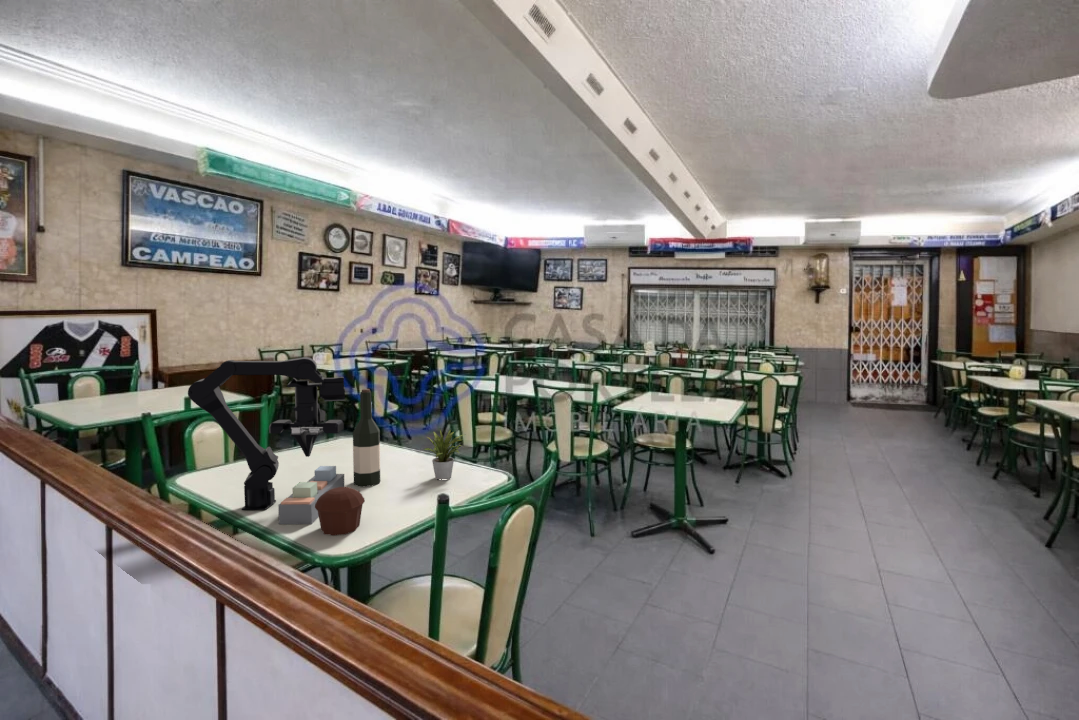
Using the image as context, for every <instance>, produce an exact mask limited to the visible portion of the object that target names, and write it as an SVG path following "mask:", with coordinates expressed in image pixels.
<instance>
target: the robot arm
mask: <svg viewBox="0 0 1079 720" xmlns="http://www.w3.org/2000/svg"><path fill="white" fill-rule="evenodd" d="M317 368H318V366H317V362H316V361H315V360H314V359H313V358H311V357H309V356H308V357H307V356H304V357H297V358H291V359H286V360H234V359H228V360H226V361H224V362H222V363H221V364H220V366H218V367H217V368H216V369H215V370H214V371H212V372H211V373H210V374H208V375H207V376H206V377H205V378H201V379H199V380H197V381H194V382H193V383H192V384H191V385H189V387H188V390H187V395H188V398H189V399H190V400H191V401H192V402H193V403H194V404H196V405H197V406H198V407H199V408H200V409H202V410H203V411H205V412H206V413H208V414H209V415H211V416H212V417H213V419H214V420H215V421H216V422H217V424H218V425H219V426H220V428H222V430H223V431H224V433H225V434H226V435H227V436H228V437H229V439H230V440H231V441H232V442H233V443H234V444H235V446H236V447H237V448H238V449H239V450H240V452H241V453H242V455H243V456H244V457H245V460H246V463H247V466H248V468H249V471H250V472H249V473H248V475H247V476H246V478H245V480H244V482H243V489H244V490H243V491H244V493H243V494H244V506H242V507H241V510H242V511H259V510H260V511H263V510H264V511H265V510H267V509H268V508H270V507H271V506H273V504H275V503H277V500H276V499H275V498H276V496H275V495H276V493H275V490H276V489H275V488H274V487H273V486H274V485H273V482H272V481H271V480H273V478H274V477H276V475H277V472H278V470H279V466H280V463H279V460H278V459H279V456H278V455H276V453H274V451H273V450H272V448H271V446H268V447H266V448H264V447H262V446H261V445H260V444H258V443H257V441H256V440H255V438H254V437H253V436H252V435H251V434H250V433H249V431H248V430H247V428H245V426H244V425H243V423H242V421H240V420H239V419H238V417H237V416H236V415H235V413H233V411H232V409H230V407H229V406H228V405H227V402H226V399H225V397H224V394H223V392H222V390H221V388H220V387H221V386H223V385H224V383H226V382H227V381H228V380H229V379H230V378H231V377H233V376H283V377H288V378H292V380H290V381H289V383H288V384H286V387H287V388H294V399H295V403H294V404H295V405H294V407H293V412H295V421H293V422H292V420H291V419H278V420H275V421H273V422H271V423H270V424H269V427H268V430H269V432H268V433H269V434H281V433H282V432H283V431H286V430H287V431H288V430H291V433H290V437H293V438H294V439H295V440H296V442H297V443H298V445H299V447H300V448H301V450H302V452H303V454H304V455H305V457H308V458H309V457H310V456H311V454H312V451H313V448H314V445H315V442H316V441H317V438H318V436H320V435H321V434H323V433H325V434H338V433H340V432H341V431H343V430H344V428H345V427H344V426H345V425H344V422H343V420H342V419H328V420H327V421H325V419H326V410H323V409H321V407H320V403H318V387H319V398H320V399H322V400H323V401H324V402H333V401H334V402H335V401H336V402H339V401H345V400H346V389H345V388H346V387H345V378H344V376H338V377H325V376H324V375H323V374H322V373H321V372H320V371H319V370H318V369H317ZM298 379H299V380H298ZM309 381H311V382H309Z"/></svg>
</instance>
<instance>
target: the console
mask: <svg viewBox="0 0 1079 720" xmlns="http://www.w3.org/2000/svg"><path fill="white" fill-rule="evenodd" d="M310 481H315V475H314V476H312V477H311V478H310V479H308V480H307V481H306V482H310ZM338 487H346V486H345V473H336V477H335V478H334V479H333V480H332V481H327V486H325V487H324V488H323V489H322V490H317V495H316V496H314V497H313V498H293V493H292V494H290V495H288V496H287V497H286V498H284V499H283V500H281V502H280V503H279V504H278V505H277V507H278V509H277V510H278V511H277V512H278V525H312V524H313V523H314V522H315V521H317V519H319V516H318V511H317V510H316V508H315V504H316V502H317V500H318V499H319V497H320V496H321V495H323V494H324V493H325V492H327V491H329V490H330V489H333V488H338Z"/></svg>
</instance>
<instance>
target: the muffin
mask: <svg viewBox="0 0 1079 720" xmlns="http://www.w3.org/2000/svg"><path fill="white" fill-rule="evenodd" d="M364 503H365V497H364V496H363V494H362V493H361V492H360V491H359V490H358V489H355V488H352V487H349V486H345V487H338V488H333V489H330V490H329V491H327V492H325V493H324V494H323V495H321V496H320V497H319V499H318V500H317V502H316V504H315V508H316V510H317V511H318V516H319V517H318V519H319V525H320V531H321V530H322V531H321V532H323V535H326V536H327V535H329V536H333V537H334V536H341V535H343V536H344V535H347V534H349V533H352V532H355V531H356V530H357V529H358V528H359V527H360V523H361V517H362V511H363V504H364Z"/></svg>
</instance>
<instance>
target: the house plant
mask: <svg viewBox="0 0 1079 720" xmlns="http://www.w3.org/2000/svg"><path fill="white" fill-rule="evenodd" d="M447 432H448V433H447V434H446V436H445V438H444V434H443V433H442V430H441V429H439V435H440V436H439V435H438V434H437V433H436V432H435V431H433V436H434V437H433V438H432V439H433V440H432V439H431V437H428V436H427V435H426V438H427V439H428V440H429V441H430V442H431V443H432V444H433V446H434V447H433V448H429V447H426V448H424V449H423V450H425V451H430V452H433V453H434V455H435V458H432V459H431V461H432V466H433V468H432V469H433V471H434V478H436V479H441V480H442V479H449V480H450V478H451V479H452V476H453V475H452V474H453V468H454V461H455V459H454V457H451V456H452V455H453V454H454V453H455V452H456V453H458V454H459V455H461V453H460V451H459V450H460V448H459V447H460V446H461V447H462V444H459V445H456V446H454V444H455V443H457V442H460V441H461V439H463V437H462V436H465V435H466V434H465V433H464V434H461V435H459V436H456V437H455V438H453V434H454V432H455V431H452V432H451V429H449V430H448V431H447ZM436 479H435V480H436ZM441 480H440V481H441Z"/></svg>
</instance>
